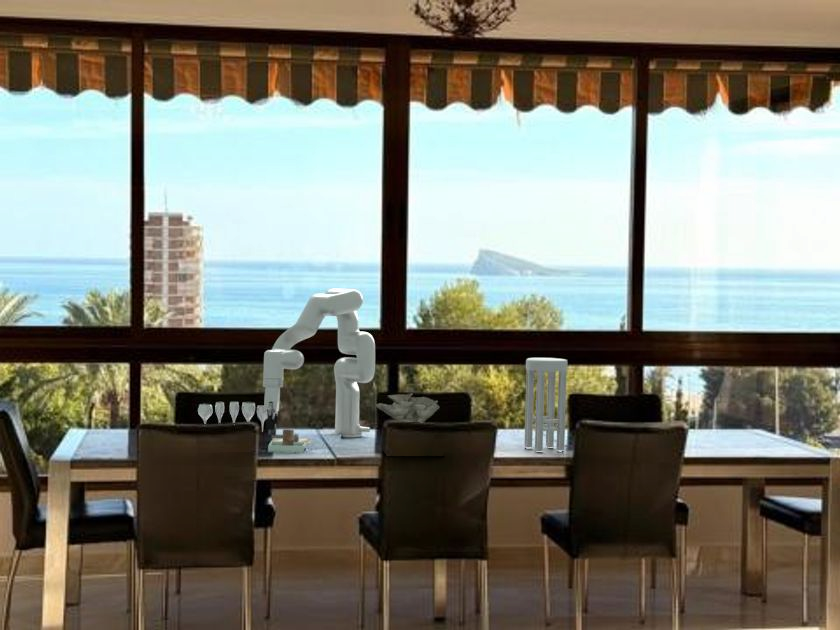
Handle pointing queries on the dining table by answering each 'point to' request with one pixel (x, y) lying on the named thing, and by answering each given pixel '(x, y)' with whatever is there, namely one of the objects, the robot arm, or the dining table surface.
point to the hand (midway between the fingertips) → (271, 428)
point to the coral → (409, 408)
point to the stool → (551, 367)
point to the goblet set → (232, 411)
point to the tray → (286, 447)
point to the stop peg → (288, 437)
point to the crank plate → (299, 440)
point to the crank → (274, 435)
